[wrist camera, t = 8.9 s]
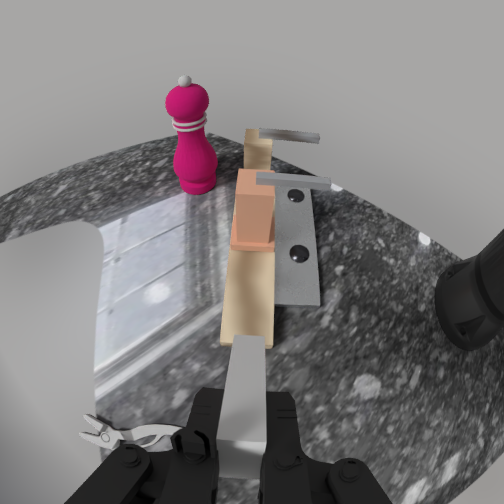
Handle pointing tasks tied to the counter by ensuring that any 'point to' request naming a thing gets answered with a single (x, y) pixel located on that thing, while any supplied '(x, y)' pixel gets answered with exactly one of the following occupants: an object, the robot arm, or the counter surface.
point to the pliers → (123, 433)
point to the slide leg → (263, 206)
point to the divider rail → (254, 256)
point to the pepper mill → (191, 137)
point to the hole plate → (295, 250)
